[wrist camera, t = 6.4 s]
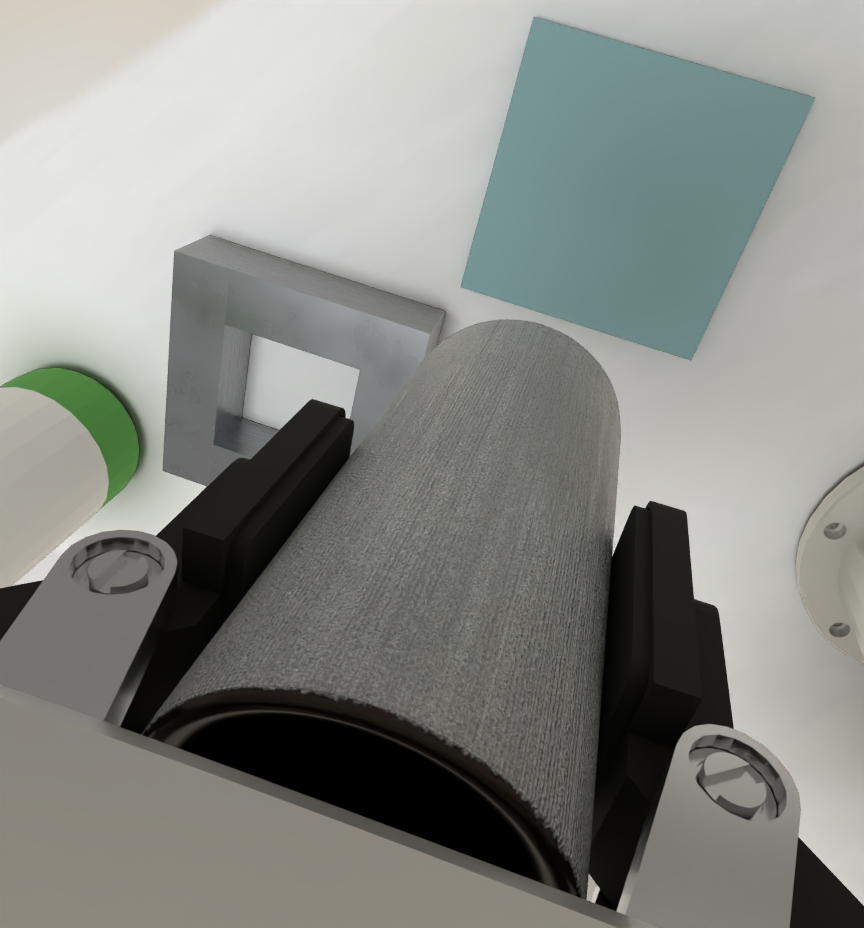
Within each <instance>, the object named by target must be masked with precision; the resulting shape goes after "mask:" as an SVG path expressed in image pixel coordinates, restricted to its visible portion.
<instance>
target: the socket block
mask: <svg viewBox="0 0 864 928" xmlns="http://www.w3.org/2000/svg"><path fill="white" fill-rule="evenodd" d="M445 312H446V311H443V310H440V309H437V308H434V307H431V306H428V305H425V304H422V303H418V302H415V301H412V300H409V299H406V298H403V297H400V296H397V295H394V294H390V293H387V292H384V291H381V290H378V289H375V288H372V287H369V286H366V285H363V284H359V283H356V282H353V281H350V280H347V279H344V278H341V277H338V276H335V275H331V274H328V273H325V272H322V271H319V270H316V269H313V268H310V267H307V266H304V265H300V264H297V263H294V262H291V261H288V260H285V259H282V258H279V257H276V256H272V255H269V254H266V253H263V252H260V251H257V250H254V249H251V248H248V247H244V246H241V245H238V244H235V243H232V242H229V241H226V240H223V239H220V238H217V237H213V236H210V235H209V236H207V237H204V238H202V239H200V240H198V241H195V242H193V243H191V244H189V245H186V246H184V247H182V248H180V249H177V250H175V251H174V266H173V285H172V303H171V322H170V341H169V360H168V379H167V398H166V417H165V436H164V455H163V471H165V472H168V473H170V474H173V475H176V476H179V477H182V478H185V479H188V480H190V481H193V482H196V483H199V484H202V485H205V486H208V485H209V484H210V483H211V482H213V481H214V480H215V479H216V478H217V477H218V476H219V475H220V474H221V473H222V472H223V471H224V470H225V469H226V468H227V467H228V466H229V465H230V464H231V463H232V462H233V461H235V460H236V459H238V458H243V457H244V458H247V459H251V458H252V457H253V456H254V455H255V454H256V453H257V452H258V451H259V450H260V449H261V448H262V447H263V446H264V445H265V444H266V443H267V442H268V441H269V440H270V439H271V438H272V437H273V436H274V435H275V434H276V433H277V432H278V431H279V430H276V429H273V428H270V427H267V426H264V425H261V424H258V423H256V422H253V421H250V420H247V419H244V418H242V411H243V403H244V394H245V386H246V377H247V369H248V360H249V352H250V343H251V335H252V334H254V335H257V336H260V337H263V338H266V339H269V340H272V341H275V342H278V343H281V344H284V345H287V346H290V347H294V348H297V349H300V350H303V351H306V352H309V353H312V354H315V355H318V356H321V357H324V358H327V359H330V360H333V361H336V362H339V363H342V364H345V365H348V366H351V367H354V368H357V369H360V373H359V378H358V383H357V388H356V392H355V397H354V402H353V407H352V412H351V416H350V420H353V421H354V432H353V439H352V445H351V451H350V456H351V455H352V453H353V452H354V451H355V449H356V448H357V447H358V445H359V444H360V443H361V441H362V440H363V439H364V438H365V436H366V435H367V434H368V432H369V431H370V430H371V428H372V427H373V426H374V424H375V423H376V422H377V420H378V419H379V418H380V416H381V415H382V414H383V412H384V411H385V410H386V408H387V407H388V406H389V404H390V403H391V402H392V401H393V399H394V398H395V397H396V395H397V394H398V393H399V391H400V390H401V389H402V387H403V386H404V385H405V383H406V382H407V381H408V379H409V378H410V377H411V375H412V374H413V373H414V371H415V370H416V369H417V368H418V366H419V365H420V364H421V363H422V361H423V360H424V359H425V358H426V357H427V356H428V355H429V354H430V353H431V352H432V351H433V350H434V349H435V348H436V346H437V343H438V339H439V335H440V331H441V328H442V324H443V320H444V316H445Z"/></svg>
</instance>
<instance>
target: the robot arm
mask: <svg viewBox="0 0 864 928" xmlns="http://www.w3.org/2000/svg"><path fill="white" fill-rule="evenodd" d="M345 417H346V415H345V410H344V409H343V408H340V407H337V406H333V405H330V404H327V403H324V402H320V401H317V400H313V399H311V400H310V401H309V402H308V403H307V404H306V405H305V406H304V407H303V408H302V409H301V410H300V411H299V412H298V413H297V414H296V415H295V416H294V417H293V418H292V419H291V420H290V421H289V422H288V423H287V424H285V425H284V426H283V427H282V428H281V429H280V430H279V431H278V432H277V433H276V434H275V435H274V436H273V437H272V438H271V439H270V440H269V441H268V442H267V443H266V444H265V445H264V446H263V447H262V448H261V449H260V450H259V451H258V452H257V453H256V454H255V455H254V456H253V457H252V458H251V459H247V458H244V457H243V458H238V459H236V460H235V461H233V462H232V463H231V464H230V465H229V466H228V467H227V468H226V469H225V470H224V471H223V472H222V473H221V474H220V475H219V476H218V477H217V478H216V479H215V480H214V481H213V482H211V483H210V484H209V485H208V486H207V487H206V488H205V489H204V490H203V491H202V492H201V493H200V494H199V495H198V496H197V497H196V498H195V499H194V500H193V501H192V502H191V503H190V504H189V505H188V506H187V507H185V508H184V509H183V510H182V511H181V512H180V513H179V514H178V515H177V516H176V517H175V518H174V519H173V520H172V521H171V522H170V523H169V524H168V525H167V526H166V527H165V528H164V529H163V530H162V531H161V532H160V533H158V534H157V535H156V536H154V535H151V534H148V533H144V532H140V531H130V530H116V531H107V532H101V533H98V534H95V535H91V536H88V537H85V538H84V539H82V540H80V541H78V542H76V543H75V544H73V545H71V546H70V547H69V548H68V549H67V550H66V551H65V552H64V553H63V554H62V555H61V556H60V558H59V559H58V560H57V562H56V563H55V565H54V566H53V568H52V569H51V570H50V572H49V573H48V575H47V576H46V578H45V579H44V580H43V581H37V582H32V583H27V584H21V585H15V586H10V587H4V588H0V928H864V906H863V905H862V904H861V903H860V902H859V900H858V899H857V898H856V897H855V896H854V895H853V894H852V893H851V892H850V891H849V890H848V889H847V888H846V887H845V886H844V885H843V884H842V883H841V881H840V880H839V879H838V878H837V877H836V876H835V875H834V874H833V873H832V872H831V871H830V870H829V869H828V868H827V867H826V866H825V865H824V864H823V863H822V861H821V860H820V859H819V858H818V857H817V856H816V855H815V854H814V853H813V852H812V851H811V850H810V849H809V848H808V847H807V846H806V845H805V844H804V842H803V841H802V840H801V839H800V838H799V837H798V833H799V823H800V812H801V808H800V798H799V792H798V790H797V788H796V786H795V783H794V781H793V779H792V777H791V775H790V774H789V772H788V771H787V770H786V768H785V767H784V766H783V764H782V763H781V762H780V760H779V759H778V758H777V757H775V756H774V755H773V754H772V753H771V752H770V751H769V750H768V749H767V748H766V747H765V746H763V745H762V744H760V743H759V742H757V741H756V740H754V739H752V738H751V737H749V736H748V735H746V734H744V733H742V732H739V731H737V730H734V728H733V720H732V712H731V704H730V696H729V689H728V681H727V673H726V665H725V657H724V649H723V642H722V634H721V626H720V618H719V613H718V609H717V608H716V607H715V606H714V605H711V604H707V603H704V602H701V601H698V600H695V599H694V595H693V583H692V571H691V559H690V547H689V536H688V524H687V514H686V512H685V511H683V510H679V509H676V508H673V507H669V506H666V505H663V504H659V503H656V502H653V501H650V502H649V503H648V505H647V506H646V508H641V507H638V506H634V507H633V509H632V510H631V513H630V515H629V517H628V520H627V522H626V525H625V527H624V530H623V532H622V534H621V537H620V539H619V542H618V544H617V547H616V549H615V551H614V554H613V556H612V563H611V577H610V590H609V604H608V617H607V631H606V645H605V658H604V672H603V685H602V699H601V713H600V726H599V740H598V753H597V767H596V781H595V794H594V808H593V821H592V835H591V848H590V861H589V874H590V875H591V877H592V878H593V880H594V881H595V883H596V884H597V886H596V888H595V890H594V893H593V895H592V898H591V901H587V900H585V899H582V898H579V897H577V896H574V895H571V894H569V893H566V892H563V891H561V890H558V889H555V888H553V887H550V886H547V885H545V884H542V883H539V882H537V881H534V880H531V879H529V878H526V877H524V876H521V875H518V874H516V873H513V872H510V871H508V870H505V869H502V868H500V867H497V866H494V865H492V864H489V863H486V862H484V861H481V860H478V859H476V858H473V857H470V856H468V855H465V854H463V853H460V852H457V851H455V850H452V849H449V848H447V847H444V846H441V845H438V844H436V843H433V842H430V841H428V840H425V839H422V838H420V837H417V836H414V835H412V834H409V833H406V832H404V831H401V830H398V829H395V828H393V827H390V826H387V825H385V824H382V823H379V822H377V821H374V820H371V819H369V818H366V817H363V816H361V815H358V814H355V813H352V812H350V811H347V810H344V809H342V808H339V807H336V806H334V805H331V804H328V803H325V802H323V801H320V800H317V799H315V798H312V797H309V796H307V795H304V794H301V793H298V792H296V791H293V790H290V789H288V788H285V787H282V786H280V785H277V784H274V783H271V782H269V781H266V780H263V779H261V778H258V777H255V776H253V775H250V774H247V773H244V772H242V771H239V770H236V769H234V768H231V767H228V766H225V765H223V764H220V763H217V762H214V761H212V760H209V759H206V758H203V757H201V756H198V755H195V754H193V753H190V752H187V751H184V750H182V749H179V748H176V747H173V746H171V745H168V744H165V743H162V742H160V741H157V740H154V739H151V738H149V737H146V736H143V735H141V734H142V732H143V731H144V730H145V728H146V727H147V725H148V724H149V723H150V721H151V720H152V718H153V717H154V716H155V714H156V713H157V711H158V710H159V709H160V707H161V706H162V705H163V703H164V702H165V701H166V699H167V698H168V697H169V695H170V694H171V693H172V691H173V690H174V689H175V687H176V686H177V685H178V683H179V682H180V681H181V679H182V678H183V677H184V675H185V674H186V673H187V671H188V670H189V669H190V667H191V666H192V665H193V663H194V662H195V661H196V659H197V658H198V657H199V655H200V654H201V653H202V651H203V650H204V649H205V648H206V646H207V645H208V644H209V642H210V641H211V640H212V638H213V637H214V636H215V634H216V633H217V632H218V630H219V629H220V628H221V626H222V625H223V624H224V622H225V621H226V620H227V618H228V617H229V616H230V615H231V613H232V612H233V611H234V609H235V608H236V607H237V605H238V604H239V603H240V601H241V600H242V599H243V597H244V596H245V595H246V593H247V592H248V591H249V589H250V588H251V587H252V585H253V584H254V583H255V581H256V580H257V579H258V578H259V576H260V575H261V574H262V572H263V571H264V570H265V568H266V567H267V566H268V564H269V563H270V562H271V560H272V559H273V558H274V556H275V555H276V554H277V552H278V551H279V550H280V548H281V547H282V546H283V544H284V543H285V542H286V541H287V539H288V538H289V537H290V535H291V534H292V533H293V531H294V530H295V529H296V527H297V526H298V525H299V523H300V522H301V521H302V519H303V518H304V517H305V515H306V514H307V513H308V511H309V510H310V509H311V508H312V506H313V505H314V504H315V502H316V501H317V500H318V498H319V497H320V496H321V494H322V493H323V492H324V490H325V489H326V488H327V486H328V485H329V484H330V482H331V481H332V480H333V478H334V477H335V476H336V474H337V473H338V472H339V471H340V469H341V468H342V467H343V465H344V464H345V463H346V461H347V460H348V459H349V457H350V451H351V445H352V439H353V432H354V421H353V420H350V419H347V418H345ZM796 574H797V584H798V587H799V590H800V594H801V597H802V601H803V604H804V606H805V608H806V611H807V613H808V615H809V617H810V619H811V621H812V623H813V624H814V625H815V627H816V628H817V629H818V630H819V632H820V633H821V634H822V636H823V637H824V638H825V639H826V640H827V641H829V642H830V643H831V644H832V645H834V646H835V647H836V648H837V649H839V650H840V651H841V652H843V653H844V654H845V655H847V656H849V657H851V658H853V659H854V660H856V661H858V662H860V663H862V664H864V466H863V467H862V468H860V469H859V470H857V471H856V472H854V473H853V474H851V475H850V476H848V477H847V478H845V479H844V480H843V481H842V482H841V483H840V484H839V485H838V486H837V487H836V488H835V489H834V490H833V491H831V492H830V493H829V494H828V495H827V496H826V497H825V498H824V499H823V501H822V502H821V504H820V505H819V506H818V508H817V509H816V510H815V512H814V513H813V515H812V516H811V517H810V519H809V521H808V523H807V525H806V527H805V530H804V532H803V534H802V537H801V539H800V541H799V547H798V552H797V558H796Z"/></svg>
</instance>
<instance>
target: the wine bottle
mask: <svg viewBox="0 0 864 928" xmlns="http://www.w3.org/2000/svg"><path fill="white" fill-rule="evenodd" d="M138 457H139V444H138V435H137V433H136V430H135V427H134V425H133V422H132V419H131V418H130V416H129V415H128V413H127V411H126V410H125V408H124V407H123V405H122V404H121V403H120V402H119V401H118V399H117V398H116V397H115V396H114V395H113V394H112V393H111V392H110V391H109V390H108V389H106V388H105V387H104V386H102V385H101V384H99V383H98V382H97V381H95V380H94V379H92V378H90V377H87V376H85V375H83V374H81V373H79V372H76V371H71V370H66V369H62V368H47V369H37V370H33V371H31V372H28V373H26V374H24V375H21V376H19V377H17V378H15V379H13V380H11V381H9V382H7V383H5V384H4V385H2V386H0V588H4V587H10V586H13V585H14V584H15V583H16V582H17V581H18V580H19V579H21V578H22V577H23V576H24V575H25V574H26V573H27V572H29V571H30V570H31V569H32V568H33V567H35V566H36V564H38V563H39V562H40V561H41V560H43V559H44V558H45V557H46V556H47V555H48V554H49V553H51V552H52V551H53V550H54V549H55V548H56V547H58V546H59V545H60V544H61V543H62V542H63V541H65V540H66V539H67V538H68V537H69V536H70V535H72V534H73V533H74V532H75V531H76V530H77V529H78V528H80V527H81V526H82V525H83V524H84V523H85V522H87V521H88V520H89V519H90V518H91V517H92V516H93V515H95V514H96V513H97V512H98V511H99V510H100V509H101V508H102V507H103V506H104V505H105V504H106V503H108V502H109V501H110V500H111V499H112V498H113V497H115V496H116V495H117V494H118V493H119V492H120V491H121V490H123V489H124V488H125V486H126V485H127V484H128V482H129V481H130V479H131V477H132V476H133V474H134V472H135V470H136V468H137V463H138Z"/></svg>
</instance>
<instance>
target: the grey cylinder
mask: <svg viewBox="0 0 864 928" xmlns="http://www.w3.org/2000/svg"><path fill="white" fill-rule="evenodd" d="M620 441H621V428H620V414H619V407H618V402H617V398H616V394H615V392H614V389H613V386H612V384H611V382H610V380H609V378H608V376H607V375H606V373H605V371H604V370H603V368H602V367H601V365H600V364H599V363H598V362H597V360H596V359H595V358H594V357H593V356H592V355H591V354H590V353H589V352H588V351H587V350H586V349H585V348H584V347H582V346H581V345H580V344H579V343H577V342H576V341H575V340H573V339H572V338H570V337H569V336H567V335H565V334H563V333H561V332H559V331H557V330H555V329H553V328H550V327H547V326H545V325H541V324H538V323H534V322H529V321H522V320H493V321H487V322H482V323H479V324H475V325H472V326H469V327H466V328H464V329H462V330H460V331H458V332H456V333H455V334H453V335H451V336H450V337H448V338H447V339H445V340H444V341H443V342H441V343H440V344H439V345H438V346H437V347H436V348H435V349H434V350H433V351H432V352H431V353H430V354H429V355H428V356H427V357H426V358H425V359H424V360H423V361H422V363H421V364H420V365H419V366H418V368H417V369H416V370H415V371H414V373H413V374H412V375H411V377H410V378H409V379H408V381H407V382H406V383H405V385H404V386H403V387H402V389H401V390H400V391H399V393H398V394H397V395H396V397H395V398H394V399H393V401H392V402H391V403H390V404H389V406H388V407H387V408H386V410H385V411H384V412H383V414H382V415H381V416H380V418H379V419H378V420H377V422H376V423H375V424H374V426H373V427H372V428H371V430H370V431H369V432H368V434H367V435H366V436H365V438H364V439H363V440H362V441H361V443H360V444H359V445H358V447H357V448H356V449H355V451H354V452H353V453H352V455H351V456H350V457H349V459H348V460H347V461H346V463H345V464H344V465H343V467H342V468H341V469H340V471H339V472H338V473H337V474H336V476H335V477H334V478H333V480H332V481H331V482H330V484H329V485H328V486H327V488H326V489H325V490H324V492H323V493H322V494H321V496H320V497H319V498H318V500H317V501H316V502H315V504H314V505H313V506H312V508H311V509H310V510H309V511H308V513H307V514H306V515H305V517H304V518H303V519H302V521H301V522H300V523H299V525H298V526H297V527H296V529H295V530H294V531H293V533H292V534H291V535H290V537H289V538H288V539H287V541H286V542H285V543H284V544H283V546H282V547H281V548H280V550H279V551H278V552H277V554H276V555H275V556H274V558H273V559H272V560H271V562H270V563H269V564H268V566H267V567H266V568H265V570H264V571H263V572H262V574H261V575H260V576H259V578H258V579H257V580H256V581H255V583H254V584H253V585H252V587H251V588H250V589H249V591H248V592H247V593H246V595H245V596H244V597H243V599H242V600H241V601H240V603H239V604H238V605H237V607H236V608H235V609H234V611H233V612H232V613H231V615H230V616H229V617H228V618H227V620H226V621H225V622H224V624H223V625H222V626H221V628H220V629H219V630H218V632H217V633H216V634H215V636H214V637H213V638H212V640H211V641H210V642H209V644H208V645H207V646H206V648H205V649H204V650H203V651H202V653H201V654H200V655H199V657H198V658H197V659H196V661H195V662H194V663H193V665H192V666H191V667H190V669H189V670H188V671H187V673H186V674H185V675H184V677H183V678H182V679H181V681H180V682H179V683H178V685H177V686H176V687H175V689H174V690H173V691H172V693H171V694H170V695H169V697H168V698H167V699H166V701H165V702H164V703H163V705H162V706H161V707H160V709H159V710H158V711H157V713H156V714H155V716H154V717H153V718H152V720H151V721H150V723H149V724H148V725H147V727H146V728H145V730H144V731H143V732H142V734H141V735H143V736H146V737H149V738H151V739H154V740H157V741H160V742H162V743H165V744H168V745H171V746H173V747H176V748H179V749H182V750H184V751H187V752H190V753H193V754H195V755H198V756H201V757H203V758H206V759H209V760H212V761H214V762H217V763H220V764H223V765H225V766H228V767H231V768H234V769H236V770H239V771H242V772H244V773H247V774H250V775H253V776H255V777H258V778H261V779H263V780H266V781H269V782H271V783H274V784H277V785H280V786H282V787H285V788H288V789H290V790H293V791H296V792H298V793H301V794H304V795H307V796H309V797H312V798H315V799H317V800H320V801H323V802H325V803H328V804H331V805H334V806H336V807H339V808H342V809H344V810H347V811H350V812H352V813H355V814H358V815H361V816H363V817H366V818H369V819H371V820H374V821H377V822H379V823H382V824H385V825H387V826H390V827H393V828H395V829H398V830H401V831H404V832H406V833H409V834H412V835H414V836H417V837H420V838H422V839H425V840H428V841H430V842H433V843H436V844H438V845H441V846H444V847H447V848H449V849H452V850H455V851H457V852H460V853H463V854H465V855H468V856H470V857H473V858H476V859H478V860H481V861H484V862H486V863H489V864H492V865H494V866H497V867H500V868H502V869H505V870H508V871H510V872H513V873H516V874H518V875H521V876H524V877H526V878H529V879H531V880H534V881H537V882H539V883H542V884H545V885H547V886H550V887H553V888H555V889H558V890H561V891H563V892H566V893H569V894H571V895H574V896H577V897H579V898H582V899H585V900H586V898H587V887H588V874H589V861H590V848H591V835H592V821H593V808H594V794H595V781H596V767H597V753H598V740H599V726H600V713H601V699H602V685H603V672H604V658H605V645H606V631H607V617H608V604H609V590H610V577H611V563H612V549H613V536H614V522H615V509H616V495H617V482H618V468H619V454H620Z"/></svg>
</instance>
